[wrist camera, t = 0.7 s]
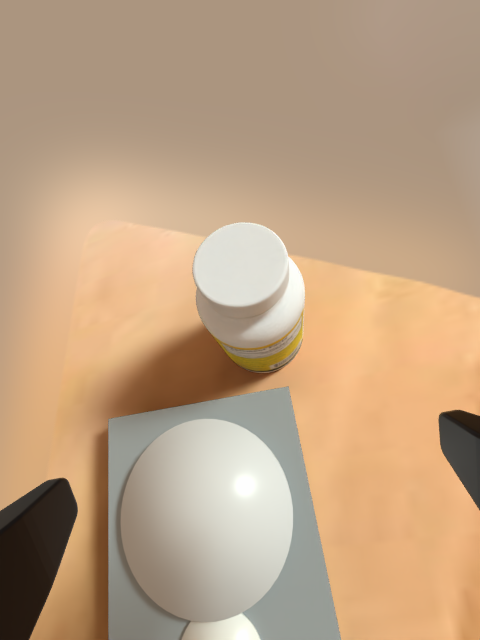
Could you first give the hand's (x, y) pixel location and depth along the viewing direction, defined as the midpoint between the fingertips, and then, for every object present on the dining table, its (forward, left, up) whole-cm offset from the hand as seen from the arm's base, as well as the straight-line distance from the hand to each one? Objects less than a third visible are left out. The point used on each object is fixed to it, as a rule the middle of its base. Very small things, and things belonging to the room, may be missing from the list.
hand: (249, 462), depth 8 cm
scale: (-4, +4, -13) cm, 14 cm away
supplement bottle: (+7, 0, -13) cm, 15 cm away
